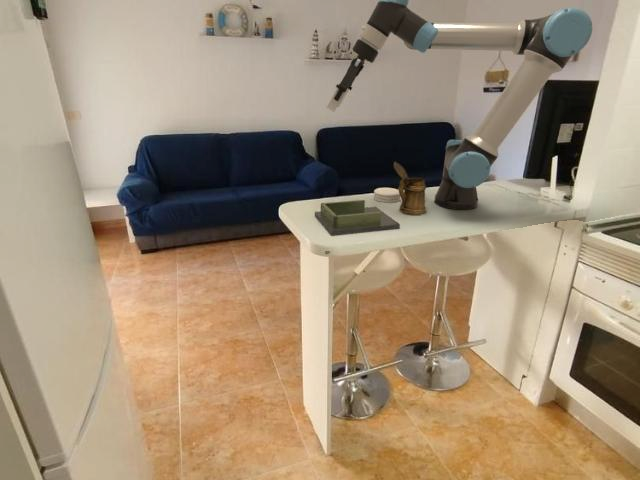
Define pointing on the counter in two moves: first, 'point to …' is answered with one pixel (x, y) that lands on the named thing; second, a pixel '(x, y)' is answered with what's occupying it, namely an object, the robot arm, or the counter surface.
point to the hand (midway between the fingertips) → (332, 107)
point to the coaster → (387, 195)
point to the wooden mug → (411, 193)
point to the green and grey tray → (353, 218)
